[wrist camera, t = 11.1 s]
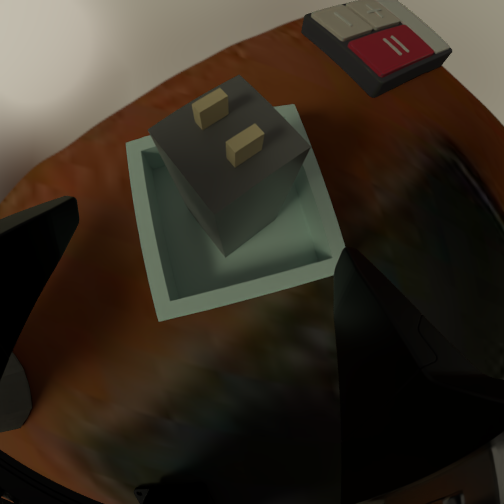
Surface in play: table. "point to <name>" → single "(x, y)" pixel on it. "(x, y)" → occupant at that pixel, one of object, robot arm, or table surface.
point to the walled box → (243, 258)
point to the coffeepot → (14, 396)
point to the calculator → (376, 42)
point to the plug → (231, 160)
